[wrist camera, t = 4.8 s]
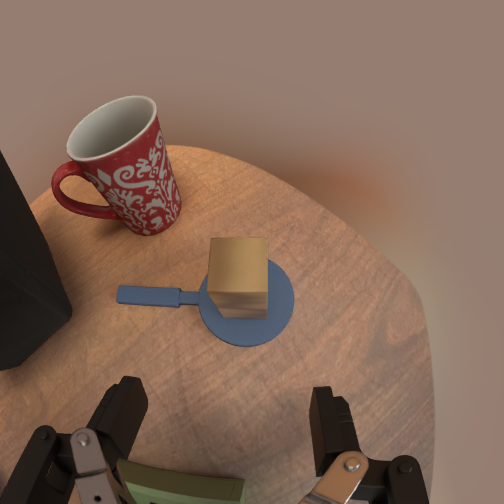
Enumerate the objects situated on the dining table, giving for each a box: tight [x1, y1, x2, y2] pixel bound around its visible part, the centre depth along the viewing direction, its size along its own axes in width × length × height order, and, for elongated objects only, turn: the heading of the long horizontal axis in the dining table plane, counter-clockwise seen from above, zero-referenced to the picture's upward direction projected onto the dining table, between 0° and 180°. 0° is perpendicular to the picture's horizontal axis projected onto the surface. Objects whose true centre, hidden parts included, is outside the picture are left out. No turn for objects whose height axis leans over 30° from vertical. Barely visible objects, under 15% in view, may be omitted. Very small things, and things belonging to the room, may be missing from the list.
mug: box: [51, 95, 181, 235], centre depth 26 cm, size 13×9×14 cm
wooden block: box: [207, 238, 268, 319], centre depth 23 cm, size 4×4×8 cm
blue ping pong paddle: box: [116, 260, 294, 347], centre depth 27 cm, size 18×9×1 cm, turn 89°
